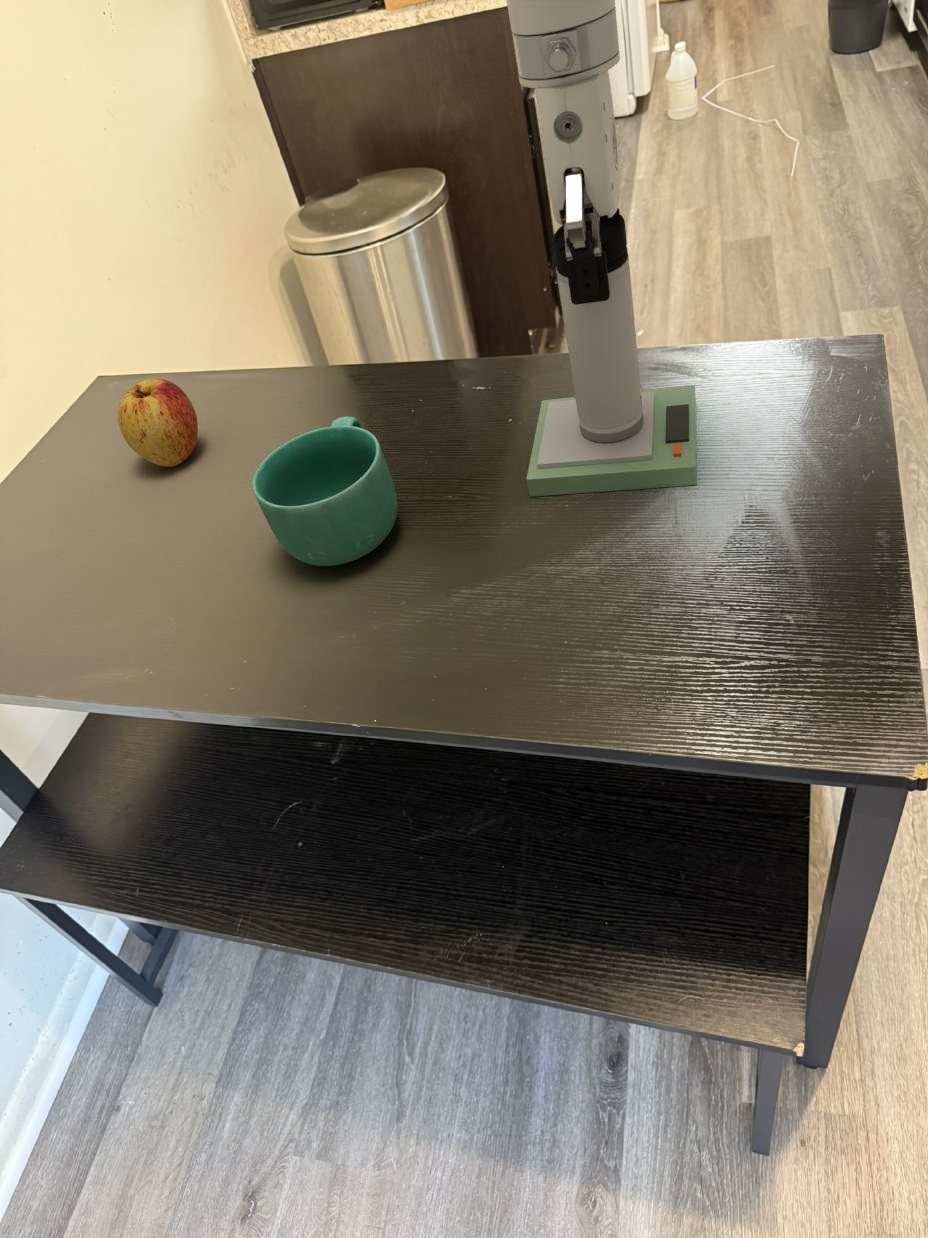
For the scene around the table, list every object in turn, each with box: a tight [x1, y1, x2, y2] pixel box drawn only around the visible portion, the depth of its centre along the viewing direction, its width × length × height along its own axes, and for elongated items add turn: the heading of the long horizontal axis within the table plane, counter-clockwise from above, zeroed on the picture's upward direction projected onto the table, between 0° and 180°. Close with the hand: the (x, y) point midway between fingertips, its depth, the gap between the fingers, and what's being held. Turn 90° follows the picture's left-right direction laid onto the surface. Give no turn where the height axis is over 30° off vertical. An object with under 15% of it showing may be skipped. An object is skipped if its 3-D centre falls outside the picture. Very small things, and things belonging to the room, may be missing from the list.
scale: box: [525, 384, 698, 498], centre depth 87 cm, size 16×14×3 cm
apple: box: [117, 378, 199, 468], centre depth 104 cm, size 9×9×10 cm
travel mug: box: [552, 207, 643, 443], centre depth 79 cm, size 6×7×20 cm
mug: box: [252, 416, 399, 567], centre depth 85 cm, size 17×13×10 cm
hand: (594, 276), depth 76 cm, fingers open, 8 cm apart
